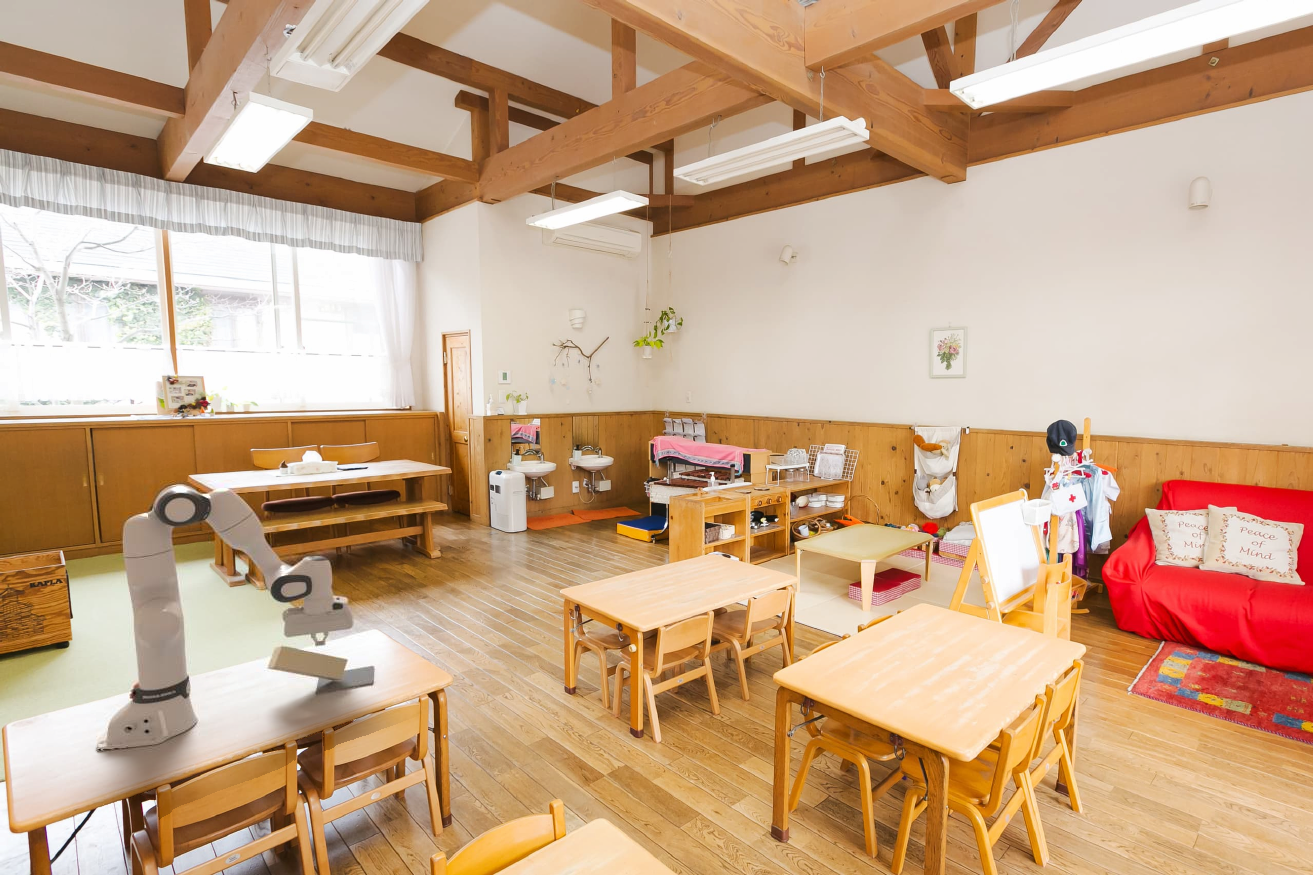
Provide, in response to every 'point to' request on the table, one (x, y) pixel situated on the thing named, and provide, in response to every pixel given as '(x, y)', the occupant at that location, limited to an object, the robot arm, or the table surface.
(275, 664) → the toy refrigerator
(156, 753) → the table surface
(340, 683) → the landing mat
